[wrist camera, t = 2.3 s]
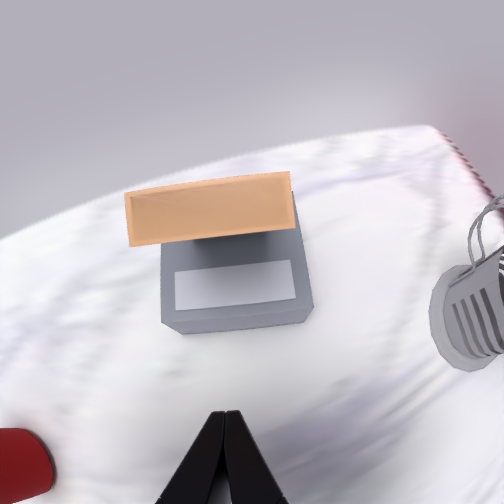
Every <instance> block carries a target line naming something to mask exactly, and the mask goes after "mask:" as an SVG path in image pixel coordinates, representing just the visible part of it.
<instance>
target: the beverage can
mask: <svg viewBox="0 0 504 504" xmlns="http://www.w3.org/2000/svg"><path fill="white" fill-rule="evenodd" d="M52 481H53V473H52V467H51V464H50V461H49V458H48V456H47V454H46V452H45V450H44V448H43V447H42V445H41V444H40V443H39V441H38V440H37V439H36V438H35V437H34V436H33V435H32V434H30V433H29V432H28V431H26V430H24V429H21V428H0V504H13V503H16V502H19V501H22V500H26V499H29V498H31V497H34V496H37V495H40V494H42V493H45V492H47V491H48V490H49V489H50V487H51V485H52Z"/></svg>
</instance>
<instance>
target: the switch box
mask: <svg viewBox="0 0 504 504" xmlns="http://www.w3.org/2000/svg"><path fill="white" fill-rule="evenodd" d="M292 199H293V208H294V217H295V226H296V228H291V229H281V230H272V231H263V232H253V233H244V234H235V235H226V236H218V237H209V238H200V239H192V240H184V241H175V242H167V243H161V322H162V323H163V324H165V325H167V326H168V327H170V328H172V329H174V330H175V331H177V332H179V333H181V334H197V333H210V332H222V331H233V330H243V329H253V328H262V327H270V326H279V325H287V324H295V323H302V322H304V321H305V319H306V318H307V316H308V315H309V313H310V312H311V311H312V309H313V308H314V305H313V299H312V293H311V287H310V281H309V275H308V269H307V263H306V258H305V252H304V247H303V241H302V236H301V231H300V225H299V220H298V215H297V210H296V205H295V200H294V195H293V191H292Z"/></svg>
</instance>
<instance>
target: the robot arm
mask: <svg viewBox="0 0 504 504" xmlns="http://www.w3.org/2000/svg"><path fill="white" fill-rule="evenodd" d="M231 501H232V504H289V503H288V502H287V500H286V498H285V497H284V496H283V493H282V491H281V489H280V488H279V486H278V484H277V482H276V480H275V479H274V477H273V475H272V473H271V471H270V469H269V467H268V466H267V464H266V462H265V460H264V458H263V456H262V454H261V452H260V450H259V448H258V446H257V444H256V442H255V441H254V439H253V437H252V435H251V433H250V431H249V429H248V427H247V424H246V422H245V420H244V418H243V416H242V414H241V412H240V411H239V410H232V411H227V412H225V411H215V412H212V413H211V414H210V416H209V417H208V419H207V421H206V422H205V424H204V426H203V427H202V429H201V431H200V432H199V434H198V436H197V437H196V439H195V441H194V442H193V444H192V446H191V447H190V449H189V451H188V452H187V454H186V456H185V457H184V459H183V460H182V462H181V464H180V465H179V467H178V468H177V470H176V472H175V473H174V475H173V476H172V478H171V480H170V481H169V483H168V484H167V486H166V488H165V489H164V491H163V492H162V494H161V495H160V498H158V500H157V501H156V503H155V504H231Z"/></svg>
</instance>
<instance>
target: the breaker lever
mask: <svg viewBox="0 0 504 504" xmlns="http://www.w3.org/2000/svg"><path fill="white" fill-rule="evenodd" d="M124 196H125V208H126V219H127V229H128V238H129V246H130V247H135V246H143V245H151V244H159V243H167V242H175V241H184V240H192V239H200V238H209V237H218V236H226V235H235V234H244V233H253V232H263V231H272V230H281V229H291V228H296V226H295V217H294V208H293V199H292V191H291V182H290V174H289V171H287V172H275V173H264V174H254V175H245V176H236V177H227V178H219V179H211V180H203V181H196V182H189V183H182V184H175V185H169V186H162V187H156V188H150V189H144V190H138V191H133V192H127V193H124Z"/></svg>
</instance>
